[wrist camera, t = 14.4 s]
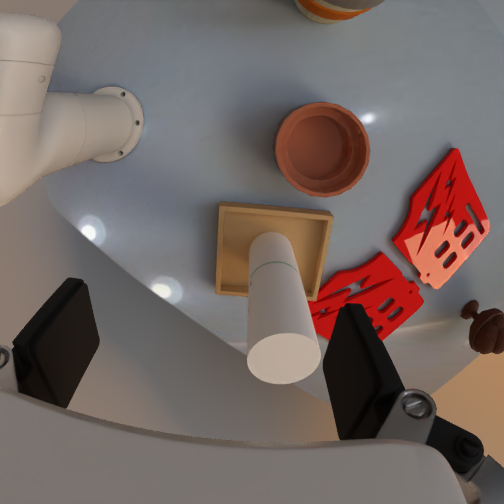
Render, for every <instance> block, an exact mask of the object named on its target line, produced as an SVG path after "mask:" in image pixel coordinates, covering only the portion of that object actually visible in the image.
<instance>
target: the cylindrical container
mask: <svg viewBox="0 0 504 504" xmlns="http://www.w3.org/2000/svg"><path fill="white" fill-rule="evenodd" d="M320 359H321V353H320V348H319V344H318V340H317V336H316V332H315V328H314V325H313V321H312V317H311V313H310V310H309V306H308V302H307V299H306V295H305V291H304V288H303V284H302V281H301V277H300V273H299V270H298V266H297V263H296V259H295V256H294V252H293V249H292V245H291V243H290V241H289V240H288V239H287V238H286V237H285V236H284V235H282V234H280V233H277V232H266V233H263V234H260V235H259V236H257V237H256V238H255V239H254V240H253V242H252V243H251V246H250V250H249V290H248V343H247V362H248V367H249V370H250V371H251V372H252V374H253V375H255V376H256V377H257V378H259V379H261V380H262V381H265V382H268V383H273V384H288V383H293V382H296V381H299V380H302V379H304V378H306V377H307V376H309V375H310V374H311V373H312V372H313V371H314V370H315V369H316V368H317V366H318V365H319V362H320Z"/></svg>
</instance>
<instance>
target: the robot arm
mask: <svg viewBox="0 0 504 504" xmlns="http://www.w3.org/2000/svg"><path fill="white" fill-rule="evenodd" d="M60 44H61V32H60V29H59V27H58V26H57V25H56V24H55V23H54V22H52V21H50V20H48V19H45V18H42V17H38V16H33V15H26V14H14V13H0V207H1V206H3V205H5V204H7V203H8V202H10V201H12V200H14V199H15V198H16V197H18V196H19V195H20V194H21V193H23V192H24V191H25V190H26V189H28V188H29V187H30V186H31V185H32V184H33V183H35V182H36V181H37V180H39V179H40V178H42V177H44V176H46V175H48V174H50V173H53V172H55V171H58V170H60V169H63V168H66V167H69V166H72V165H75V164H77V163H80V162H83V161H86V160H89V159H93V160H95V161H98V162H105V163H107V162H113V161H116V160H119V159H121V158H123V157H125V156H126V155H128V154H129V153H130V152H131V151H132V150H133V149H134V148H135V146H136V145H137V143H138V142H139V140H140V137H141V135H142V131H143V126H144V115H143V111H142V107H141V105H140V103H139V101H138V100H137V98H136V97H135V96H134V95H133V94H132V93H131V92H129V91H128V90H125V89H123V88H119V87H104V88H101V89H99V90H97V91H95V92H93V93H92V94H84V93H65V92H51V93H46V92H47V88H48V85H49V81H50V78H51V75H52V71H53V68H54V64H55V61H56V58H57V55H58V52H59V48H60ZM124 94H125V96H124ZM138 122H140V124H138ZM122 151H123V154H122ZM99 342H100V340H99V335H98V331H97V327H96V323H95V319H94V314H93V310H92V305H91V301H90V296H89V291H88V286H87V284H85V283H84V281H83V280H82V279H77V278H67V279H66V280H65V281H64V282H63V283H62V285H61V286H60V287H59V288H58V289H57V290H56V291H55V292H54V293H53V295H52V296H51V297H50V298H49V299H48V300H47V301H46V302H45V303H44V304H43V306H42V307H41V308H40V309H39V310H38V311H37V313H36V314H35V315H34V316H33V317H32V319H31V320H30V321H29V322H28V323H27V324H26V326H25V327H24V328H23V329H22V330H21V332H20V333H19V334H18V335H17V337H16V338H15V339H14V341H13V342H12V343H13V345H14V348H13V349H12V350H11V349H10V348H9V347H8V346H6V345H0V504H504V468H503V467H502V466H501V465H500V464H499V463H497V462H496V461H495V460H494V459H493V458H492V457H491V456H489V455H488V456H487V457H485V456H484V455H483V454H484V449H483V445H482V442H481V441H480V439H479V438H478V437H477V436H475V435H474V434H472V433H470V432H468V431H466V430H464V429H462V428H460V427H458V426H456V425H454V424H452V423H450V422H448V421H446V420H444V419H442V418H440V417H438V416H437V415H436V410H437V408H436V404H435V402H434V400H433V398H432V397H431V396H430V395H429V394H427V393H425V392H424V391H421V390H418V389H407V390H405V388H404V386H403V383H402V381H401V379H400V377H399V375H398V373H397V371H396V368H395V366H394V364H393V362H392V360H391V358H390V356H389V354H388V352H387V350H386V348H385V346H384V344H383V342H382V340H381V339H379V337H378V335H377V333H376V331H375V329H374V327H373V325H372V323H371V321H370V319H369V317H368V315H367V313H366V311H365V309H364V307H363V305H362V304H360V303H346V304H345V305H344V307H340V309H339V311H338V315H337V318H336V322H335V325H334V328H333V331H332V335H331V338H330V341H329V344H328V347H327V350H326V353H325V356H324V359H323V371H324V376H325V380H326V384H327V388H328V392H329V396H330V401H331V405H332V409H333V413H334V418H335V423H336V427H337V432H338V436H339V439H340V441H323V442H251V441H233V440H221V439H210V438H200V437H192V436H184V435H177V434H171V433H164V432H159V431H153V430H147V429H142V428H137V427H133V426H128V425H123V424H119V423H115V422H111V421H107V420H103V419H99V418H95V417H92V416H88V415H84V414H81V413H78V412H74V411H71V410H68V409H66V408H67V407H68V405H69V403H70V400H71V399H72V397H73V395H74V393H75V390H76V388H77V387H78V385H79V383H80V381H81V379H82V377H83V375H84V373H85V371H86V369H87V367H88V365H89V363H90V361H91V360H92V358H93V356H94V354H95V352H96V350H97V349H98V346H99Z"/></svg>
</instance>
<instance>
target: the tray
mask: <svg viewBox="0 0 504 504" xmlns="http://www.w3.org/2000/svg"><path fill="white" fill-rule="evenodd" d="M332 222H333V215H332V214H331V213H330V211H321V210H312V209H302V208H292V207H282V206H272V205H260V204H249V203H236V202H223V201H221V203H220V205H219V220H218V240H217V262H216V289H215V294H220V295H232V296H245V297H248V290H249V250H250V246H251V243H252V242H253V240H254V239H255V238H256V237H257V236H259V235H260V234H263V233H266V232H277V233H280V234H282V235H284V236H285V237H286V238H287V239H288V240H289V241H290V243H291V245H292V249H293V252H294V256H295V259H296V263H297V266H298V270H299V273H300V277H301V281H302V284H303V288H304V291H305V295H306V299H307V301H316V299H317V295H318V291H319V286H320V282H321V277H322V272H323V268H324V263H325V258H326V253H327V248H328V243H329V238H330V233H331V228H332Z"/></svg>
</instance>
